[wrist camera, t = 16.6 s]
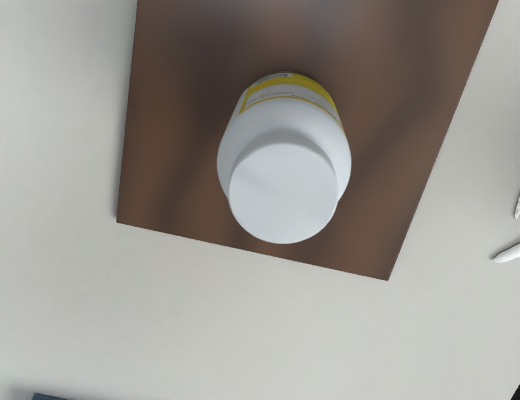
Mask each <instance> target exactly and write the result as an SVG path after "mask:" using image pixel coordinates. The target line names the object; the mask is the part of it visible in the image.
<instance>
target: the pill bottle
mask: <svg viewBox="0 0 520 400" xmlns="http://www.w3.org/2000/svg"><path fill="white" fill-rule="evenodd" d="M217 171H218V177H219V181H220V184H221V187H222V189H223V191H224V193H225V195H226V196H227V198H228V201H229V205H230V208H231V211H232V213H233V215H234V217H235V219H236V220H237V222H238V223H239V224H240V225H241V226H242V227H243V228H244V229H245V230H246V231H247V232H249V233H250V234H252V235H253V236H255V237H257V238H259V239H261V240H264V241H267V242H272V243H279V244H289V243H295V242H300V241H302V240H305V239H308V238H310V237H312V236H313V235H315V234H317V233H318V232H319V231H320V230H322V229H323V228H324V227H325V226H326V225H327V223H328V222H329V221H330V219H331V218H332V216H333V214H334V212H335V209H336V207H337V203H338V201H339V199H340V198H341V196H342V195H343V193H344V191H345V189H346V187H347V184H348V181H349V178H350V173H351V154H350V149H349V145H348V141H347V138H346V135H345V132H344V129H343V126H342V123H341V120H340V118H339V115H338V112H337V109H336V106H335V104H334V102H333V100H332V98H331V96H330V94H329V93H328V92H327V90H326V89H325V88H324V87H323V86H322V85H321V84H320V83H319V82H317V81H316V80H314V79H313V78H311V77H309V76H307V75H304V74H301V73H298V72H291V71H281V72H275V73H271V74H268V75H265V76H263V77H261V78H259V79H257V80H256V81H255V82H253V83H252V84H251V85H250V86H249V87H248V88H247V89H246V90H245V91H244V92H243V94H242V95H241V97H240V99H239V100H238V102H237V104H236V107H235V110H234V112H233V114H232V116H231V119H230V121H229V123H228V126H227V128H226V130H225V133H224V135H223V138H222V140H221V143H220V146H219V150H218V156H217Z"/></svg>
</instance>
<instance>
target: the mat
mask: <svg viewBox="0 0 520 400" xmlns="http://www.w3.org/2000/svg"><path fill="white" fill-rule="evenodd" d="M498 1H499V0H138V3H137V13H136V24H135V34H134V44H133V55H132V65H131V75H130V85H129V96H128V106H127V116H126V127H125V137H124V147H123V158H122V168H121V178H120V189H119V199H118V209H117V220H116V222H117V223H121V224H126V225H131V226H135V227H140V228H144V229H149V230H154V231H158V232H163V233H168V234H172V235H177V236H182V237H186V238H191V239H195V240H200V241H205V242H209V243H214V244H219V245H223V246H228V247H233V248H237V249H242V250H246V251H251V252H256V253H260V254H265V255H270V256H274V257H279V258H284V259H288V260H293V261H297V262H302V263H307V264H311V265H316V266H321V267H325V268H330V269H335V270H339V271H344V272H349V273H353V274H358V275H362V276H367V277H372V278H376V279H381V280H386V281H388V280H389V277H390V275H391V272H392V270H393V267H394V265H395V262H396V260H397V257H398V254H399V252H400V249H401V247H402V244H403V242H404V239H405V237H406V234H407V232H408V229H409V227H410V224H411V222H412V219H413V216H414V214H415V211H416V209H417V206H418V204H419V201H420V199H421V196H422V194H423V191H424V189H425V186H426V184H427V181H428V179H429V176H430V173H431V171H432V168H433V166H434V163H435V161H436V158H437V156H438V153H439V151H440V148H441V146H442V143H443V141H444V138H445V135H446V133H447V130H448V128H449V125H450V123H451V120H452V118H453V115H454V113H455V110H456V108H457V105H458V103H459V100H460V98H461V95H462V92H463V90H464V87H465V85H466V82H467V80H468V77H469V75H470V72H471V70H472V67H473V65H474V62H475V60H476V57H477V54H478V52H479V49H480V47H481V44H482V42H483V39H484V37H485V34H486V32H487V29H488V27H489V24H490V22H491V19H492V17H493V14H494V11H495V9H496V6H497V4H498ZM281 71H291V72H298V73H301V74H304V75H307V76H309V77H311V78H313V79H314V80H316V81H317V82H319V83H320V84H321V85H322V86H323V87H324V88H325V89H326V90H327V92H328V93H329V94H330V96H331V98H332V100H333V102H334V104H335V106H336V109H337V112H338V115H339V118H340V120H341V123H342V126H343V129H344V132H345V135H346V138H347V141H348V145H349V149H350V154H351V173H350V178H349V181H348V184H347V187H346V189H345V191H344V193H343V195H342V196H341V198H340V199H339V201H338V203H337V207H336V209H335V212H334V214H333V216H332V218H331V219H330V221H329V222H328V223H327V225H326V226H325V227H324V228H323V229H322V230H320V231H319V232H318V233H317V234H315V235H313V236H312V237H310V238H308V239H305V240H302V241H300V242H295V243H289V244H279V243H272V242H267V241H264V240H261V239H259V238H257V237H255V236H253V235H252V234H250V233H249V232H247V231H246V230H245V229H244V228H243V227H242V226H241V225H240V224H239V223H238V222H237V220H236V219H235V217H234V215H233V213H232V211H231V208H230V205H229V201H228V198H227V196H226V195H225V193H224V191H223V189H222V187H221V184H220V181H219V177H218V171H217V156H218V150H219V146H220V143H221V140H222V138H223V135H224V133H225V130H226V128H227V126H228V123H229V121H230V119H231V116H232V114H233V112H234V110H235V107H236V104H237V102H238V100H239V99H240V97H241V95H242V94H243V92H244V91H245V90H246V89H247V88H248V87H249V86H250V85H251V84H252V83H253V82H255V81H256V80H257V79H259V78H261V77H263V76H265V75H268V74H271V73H275V72H281Z"/></svg>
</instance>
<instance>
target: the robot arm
mask: <svg viewBox="0 0 520 400" xmlns="http://www.w3.org/2000/svg"><path fill="white" fill-rule="evenodd" d="M511 400H520V385H519V386H518V388H517V390H516V391H515V393H514V395H513V396H512V398H511Z"/></svg>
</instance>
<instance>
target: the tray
mask: <svg viewBox="0 0 520 400" xmlns="http://www.w3.org/2000/svg"><path fill="white" fill-rule="evenodd" d="M32 400H64V399H59V398H55V397H50V396H45V395H40V394H34V396H33V398H32Z"/></svg>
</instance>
